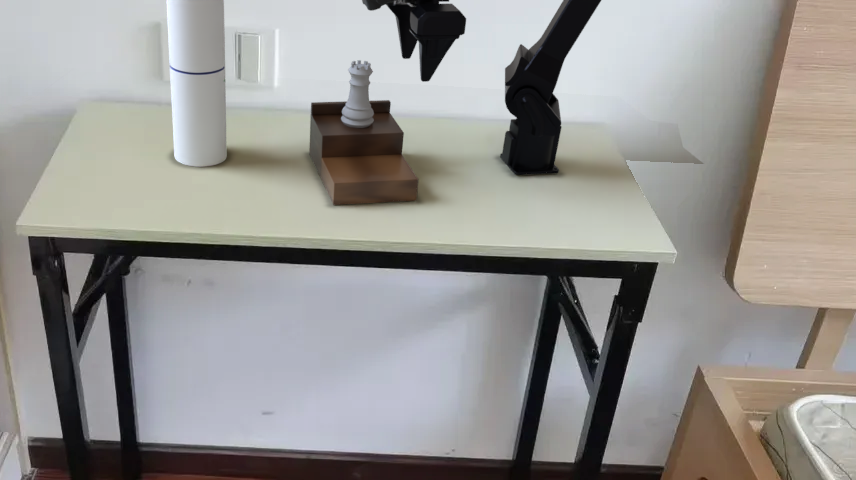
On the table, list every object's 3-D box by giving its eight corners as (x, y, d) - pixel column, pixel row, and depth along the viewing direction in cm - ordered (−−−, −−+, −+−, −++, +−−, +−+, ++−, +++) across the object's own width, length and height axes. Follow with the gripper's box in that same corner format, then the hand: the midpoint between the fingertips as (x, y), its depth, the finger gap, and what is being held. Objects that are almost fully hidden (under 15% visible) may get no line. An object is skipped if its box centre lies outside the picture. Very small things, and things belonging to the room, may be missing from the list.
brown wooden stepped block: (385, 151, 137) (389, 99, 133) (416, 200, 124) (422, 145, 120) (309, 154, 135) (310, 102, 130) (333, 205, 122) (336, 149, 118)
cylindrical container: (164, 160, 131) (153, -34, 116) (190, 141, 136) (182, -46, 122) (211, 170, 129) (205, -26, 114) (235, 151, 134) (233, -38, 120)
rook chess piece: (341, 115, 131) (344, 56, 126) (373, 117, 131) (378, 58, 126) (340, 127, 127) (343, 67, 123) (373, 130, 127) (378, 70, 123)
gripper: (348, -71, 127) (341, 48, 136) (383, -36, 112) (374, 95, 121) (429, -70, 129) (417, 47, 138) (474, -36, 114) (458, 93, 123)
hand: (415, 69), depth 130 cm, fingers open, 9 cm apart
